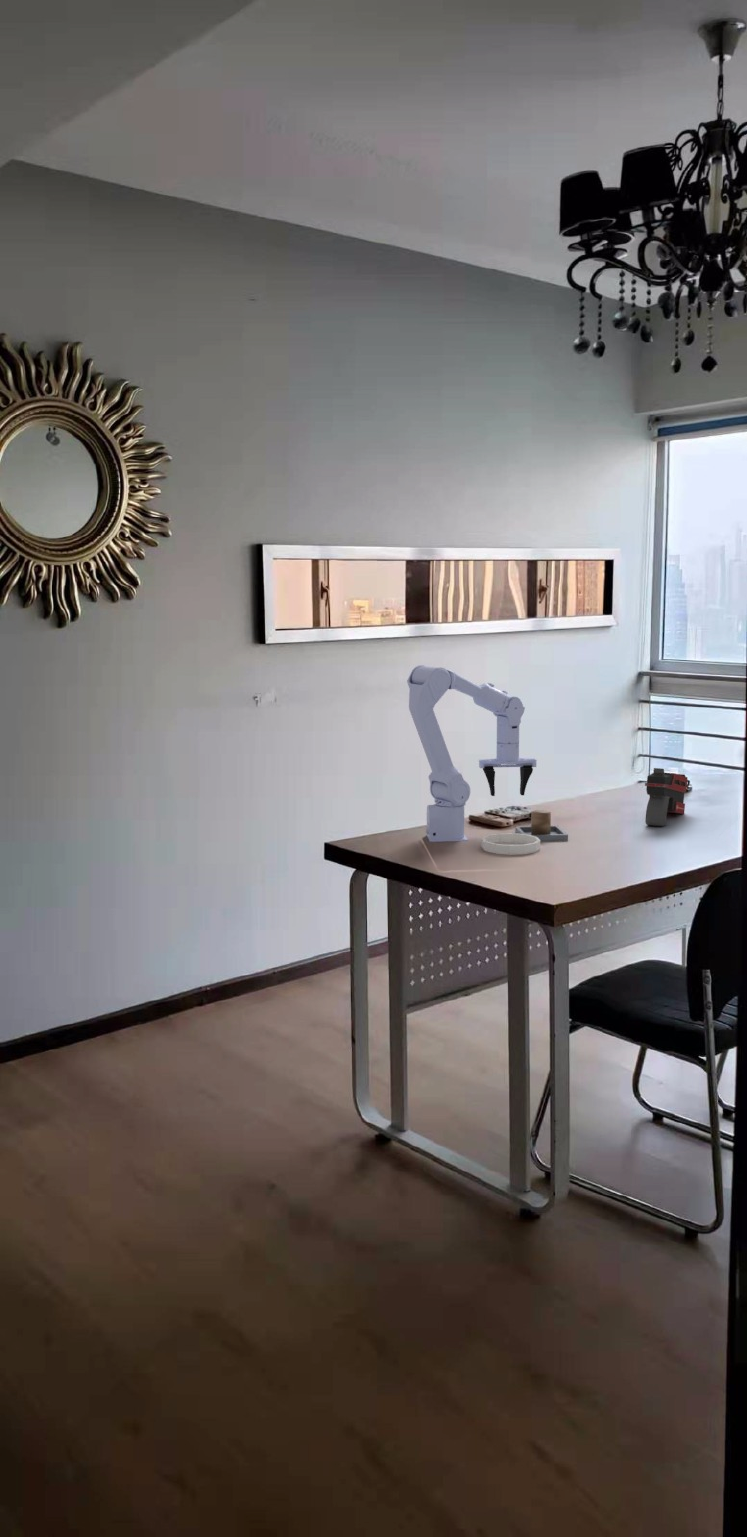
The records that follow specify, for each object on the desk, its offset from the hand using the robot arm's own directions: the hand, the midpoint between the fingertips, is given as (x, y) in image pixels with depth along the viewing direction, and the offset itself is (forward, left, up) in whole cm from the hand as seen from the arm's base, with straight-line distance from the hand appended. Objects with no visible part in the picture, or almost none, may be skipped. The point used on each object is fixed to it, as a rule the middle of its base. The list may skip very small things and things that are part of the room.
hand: (507, 795), depth 307 cm
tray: (+7, -9, -9) cm, 15 cm away
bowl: (-3, -21, -9) cm, 23 cm away
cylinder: (+7, -9, -9) cm, 14 cm away
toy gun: (+45, +10, -10) cm, 47 cm away
